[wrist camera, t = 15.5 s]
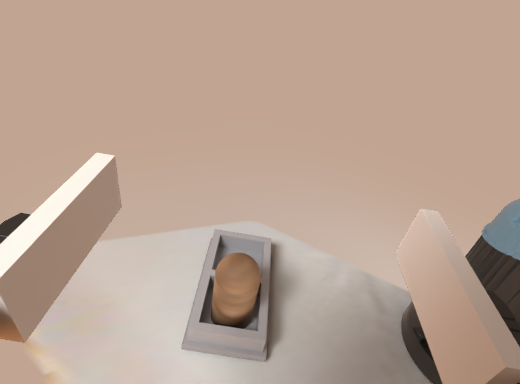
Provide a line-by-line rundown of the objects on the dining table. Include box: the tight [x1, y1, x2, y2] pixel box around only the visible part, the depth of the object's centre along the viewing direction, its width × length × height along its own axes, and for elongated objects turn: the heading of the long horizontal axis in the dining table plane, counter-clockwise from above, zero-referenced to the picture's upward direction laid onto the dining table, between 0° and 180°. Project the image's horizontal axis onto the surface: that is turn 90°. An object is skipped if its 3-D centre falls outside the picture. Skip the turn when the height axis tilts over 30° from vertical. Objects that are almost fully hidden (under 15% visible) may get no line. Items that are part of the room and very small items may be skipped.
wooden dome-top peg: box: [211, 253, 261, 329], centre depth 38 cm, size 5×5×10 cm
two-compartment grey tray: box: [182, 229, 272, 361], centre depth 43 cm, size 18×10×4 cm, turn 176°
